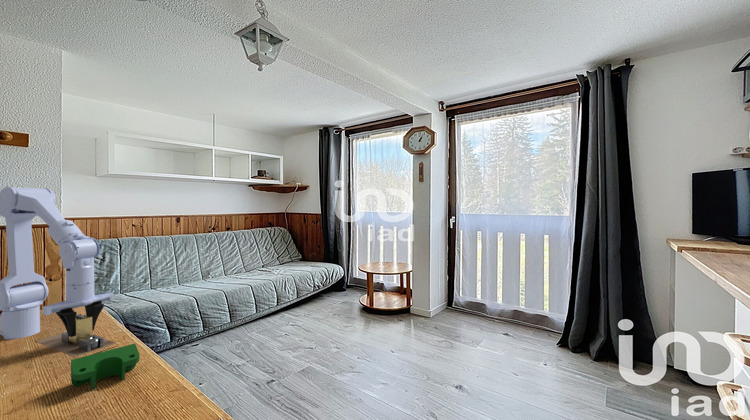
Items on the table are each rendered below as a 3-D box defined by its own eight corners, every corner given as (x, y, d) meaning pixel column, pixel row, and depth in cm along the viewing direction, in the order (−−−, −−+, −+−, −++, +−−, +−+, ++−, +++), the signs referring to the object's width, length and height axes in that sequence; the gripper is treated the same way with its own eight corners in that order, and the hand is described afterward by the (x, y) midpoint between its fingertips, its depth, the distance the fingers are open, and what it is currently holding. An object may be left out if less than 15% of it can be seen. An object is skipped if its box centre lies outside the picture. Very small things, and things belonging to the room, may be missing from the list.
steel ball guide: (61, 341, 89) (61, 333, 89) (77, 337, 92) (77, 329, 92) (87, 351, 83) (87, 342, 83) (103, 346, 86) (103, 337, 86)
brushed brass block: (68, 340, 87) (68, 316, 87) (85, 335, 90) (84, 312, 90) (76, 343, 85) (75, 318, 85) (92, 338, 88) (92, 314, 88)
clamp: (86, 410, 68) (62, 382, 63) (82, 392, 71) (60, 365, 67) (149, 370, 75) (132, 343, 71) (143, 356, 79) (126, 330, 75)
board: (35, 344, 89) (35, 340, 89) (76, 332, 97) (76, 329, 97) (74, 360, 80) (74, 356, 80) (116, 346, 88) (116, 342, 88)
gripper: (51, 291, 79) (52, 346, 79) (119, 279, 92) (119, 326, 92) (38, 288, 82) (39, 341, 82) (106, 276, 95) (106, 322, 95)
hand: (81, 333), depth 87 cm, fingers closed on brushed brass block, 3 cm apart
